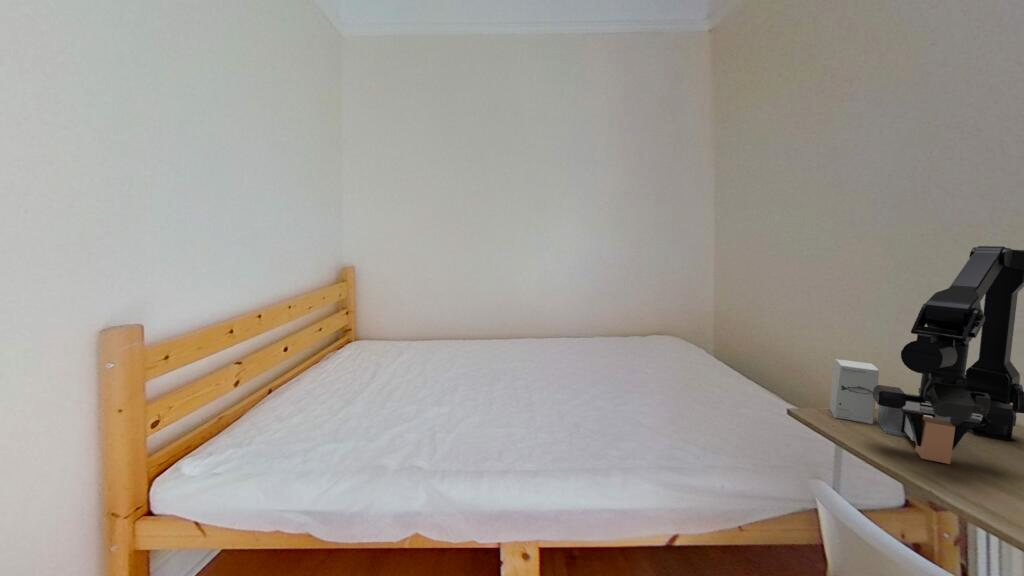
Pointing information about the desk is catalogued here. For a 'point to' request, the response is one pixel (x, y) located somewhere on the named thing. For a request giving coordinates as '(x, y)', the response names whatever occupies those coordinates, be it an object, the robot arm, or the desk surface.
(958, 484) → the desk surface
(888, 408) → the block
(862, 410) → the supplement box
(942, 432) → the cover
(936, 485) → the desk surface
